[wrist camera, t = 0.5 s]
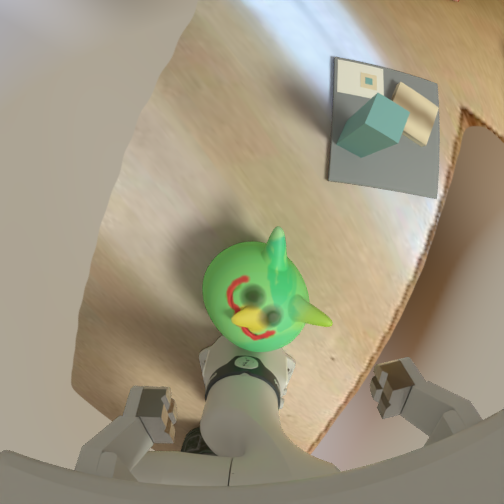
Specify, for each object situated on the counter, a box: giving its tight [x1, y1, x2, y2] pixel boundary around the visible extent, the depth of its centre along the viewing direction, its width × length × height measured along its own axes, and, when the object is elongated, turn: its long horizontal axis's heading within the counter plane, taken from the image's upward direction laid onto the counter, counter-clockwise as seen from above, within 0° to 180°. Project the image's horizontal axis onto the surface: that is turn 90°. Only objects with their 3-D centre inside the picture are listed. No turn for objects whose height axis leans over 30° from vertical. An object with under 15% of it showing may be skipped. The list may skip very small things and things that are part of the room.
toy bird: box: [202, 226, 333, 352], centre depth 48 cm, size 18×17×15 cm
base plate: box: [328, 57, 440, 199], centre depth 48 cm, size 24×22×3 cm
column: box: [336, 93, 410, 158], centre depth 41 cm, size 5×5×16 cm
